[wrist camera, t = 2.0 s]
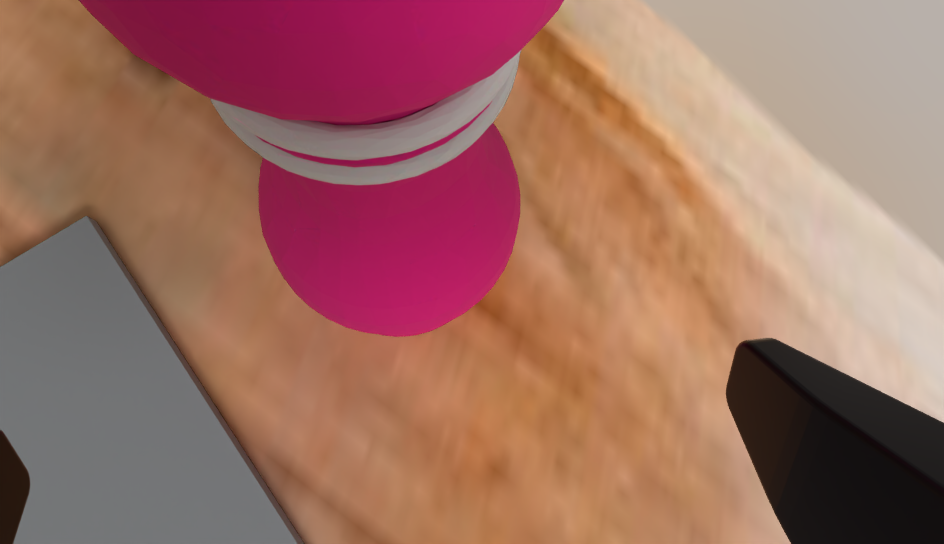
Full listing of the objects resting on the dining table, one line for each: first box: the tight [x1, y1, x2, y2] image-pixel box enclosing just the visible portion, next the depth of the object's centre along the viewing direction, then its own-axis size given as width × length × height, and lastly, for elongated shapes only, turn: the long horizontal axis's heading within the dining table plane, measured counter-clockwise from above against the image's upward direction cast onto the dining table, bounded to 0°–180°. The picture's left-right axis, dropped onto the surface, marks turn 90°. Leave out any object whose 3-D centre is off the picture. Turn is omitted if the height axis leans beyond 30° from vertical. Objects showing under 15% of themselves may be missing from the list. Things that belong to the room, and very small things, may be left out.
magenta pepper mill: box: [79, 0, 564, 337], centre depth 12 cm, size 7×7×20 cm
